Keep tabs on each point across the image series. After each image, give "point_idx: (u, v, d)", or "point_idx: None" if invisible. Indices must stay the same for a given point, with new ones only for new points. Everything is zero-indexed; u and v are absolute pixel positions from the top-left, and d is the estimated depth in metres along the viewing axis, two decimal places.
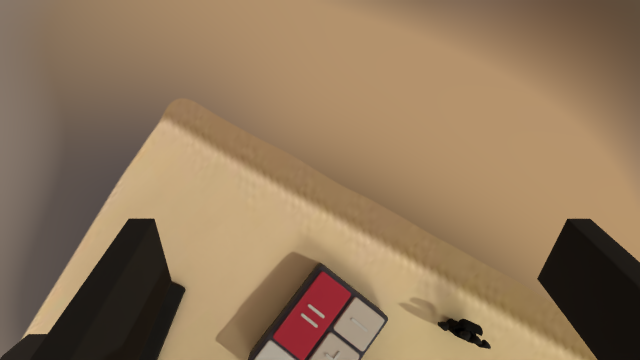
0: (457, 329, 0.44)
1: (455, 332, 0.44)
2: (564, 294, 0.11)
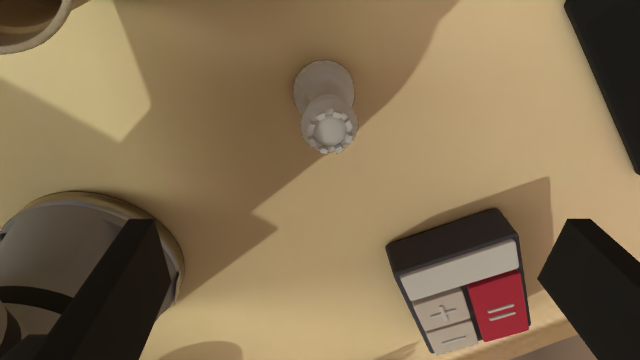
0: None
1: None
2: (564, 294, 0.11)
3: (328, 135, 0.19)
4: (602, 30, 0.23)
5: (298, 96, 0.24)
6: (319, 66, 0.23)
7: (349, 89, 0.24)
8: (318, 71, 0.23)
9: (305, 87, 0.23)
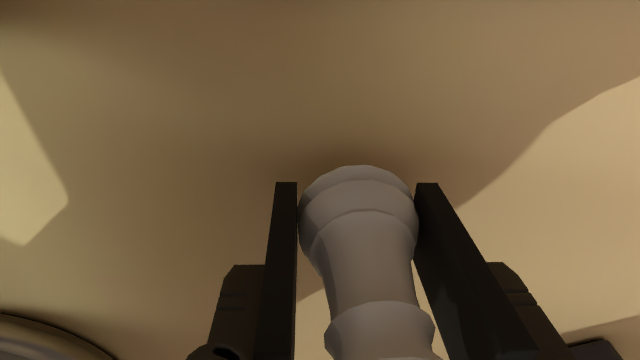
0: None
1: None
2: (415, 249, 0.13)
3: None
4: None
5: (307, 240, 0.12)
6: (353, 185, 0.11)
7: (412, 230, 0.12)
8: (351, 198, 0.11)
9: (323, 232, 0.11)
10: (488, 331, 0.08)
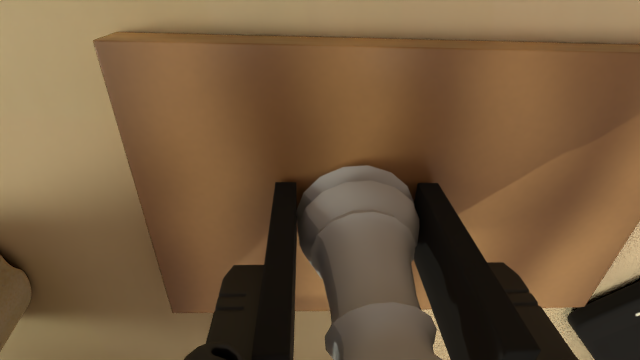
0: None
1: None
2: (416, 249, 0.13)
3: None
4: (611, 345, 0.20)
5: (307, 241, 0.12)
6: (353, 186, 0.11)
7: (413, 231, 0.11)
8: (352, 199, 0.11)
9: (323, 233, 0.11)
10: (489, 331, 0.08)
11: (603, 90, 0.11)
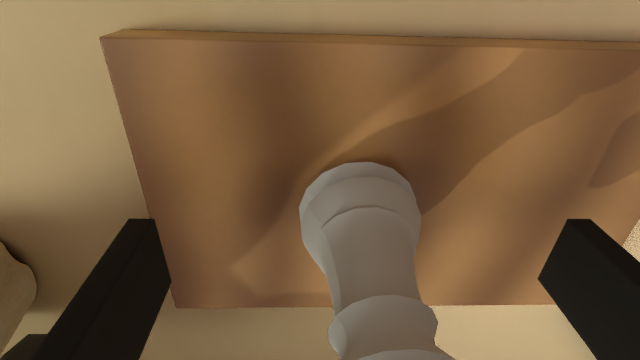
0: None
1: None
2: (564, 294, 0.11)
3: None
4: None
5: (310, 236, 0.12)
6: (356, 182, 0.11)
7: (414, 226, 0.12)
8: (354, 194, 0.11)
9: (326, 228, 0.11)
10: None
11: (604, 87, 0.11)
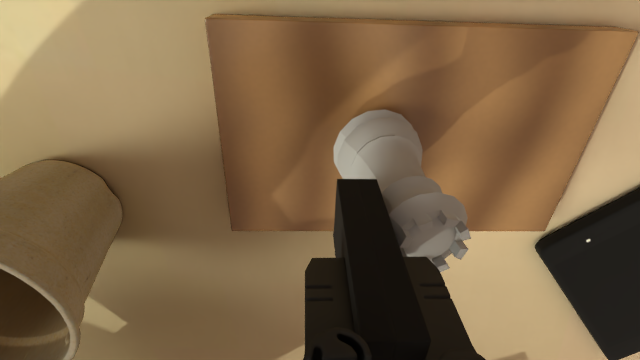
0: None
1: None
2: None
3: (427, 247, 0.12)
4: (570, 269, 0.25)
5: (347, 162, 0.17)
6: (379, 121, 0.16)
7: (419, 152, 0.17)
8: (379, 129, 0.16)
9: (361, 152, 0.16)
10: None
11: (544, 56, 0.17)
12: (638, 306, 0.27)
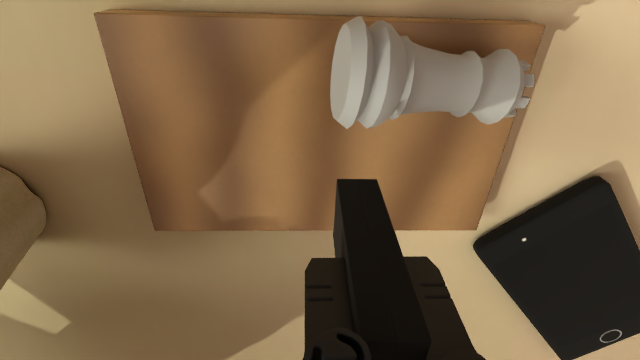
0: None
1: None
2: None
3: None
4: (509, 268, 0.25)
5: None
6: None
7: None
8: None
9: None
10: None
11: (450, 50, 0.16)
12: (584, 306, 0.27)
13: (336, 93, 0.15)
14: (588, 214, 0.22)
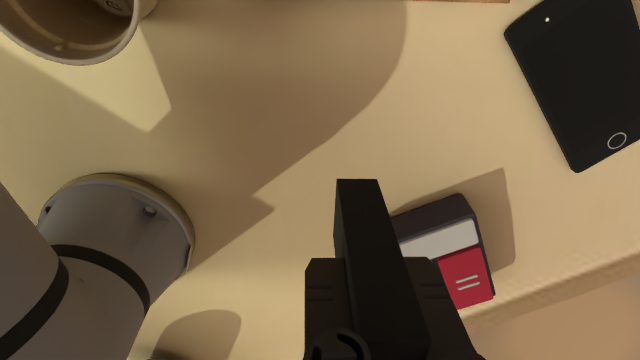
0: None
1: None
2: None
3: None
4: (533, 54, 0.30)
5: None
6: None
7: None
8: None
9: None
10: None
11: None
12: (595, 102, 0.32)
13: None
14: None
